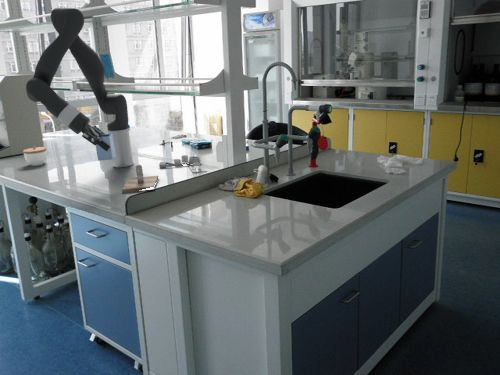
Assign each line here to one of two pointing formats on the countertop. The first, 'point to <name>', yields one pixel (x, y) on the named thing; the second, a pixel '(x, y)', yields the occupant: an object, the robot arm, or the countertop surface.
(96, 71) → the robot arm
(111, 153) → the blue box
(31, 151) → the lidded jar
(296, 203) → the countertop surface
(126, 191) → the post base
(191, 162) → the pulley system
